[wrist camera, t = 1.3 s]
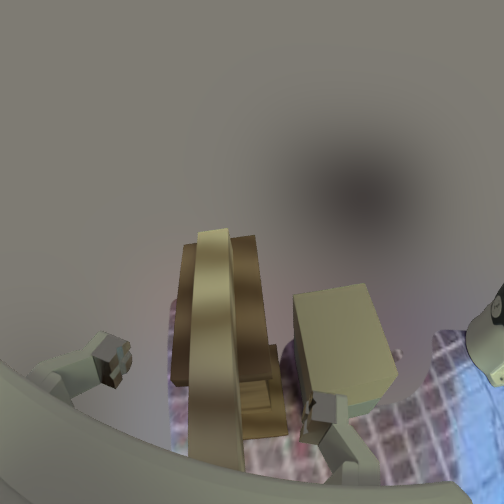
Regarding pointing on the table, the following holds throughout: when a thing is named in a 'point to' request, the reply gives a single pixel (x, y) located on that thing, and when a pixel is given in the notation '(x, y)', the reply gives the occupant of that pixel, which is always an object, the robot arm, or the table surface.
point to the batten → (214, 357)
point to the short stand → (248, 342)
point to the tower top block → (342, 344)
